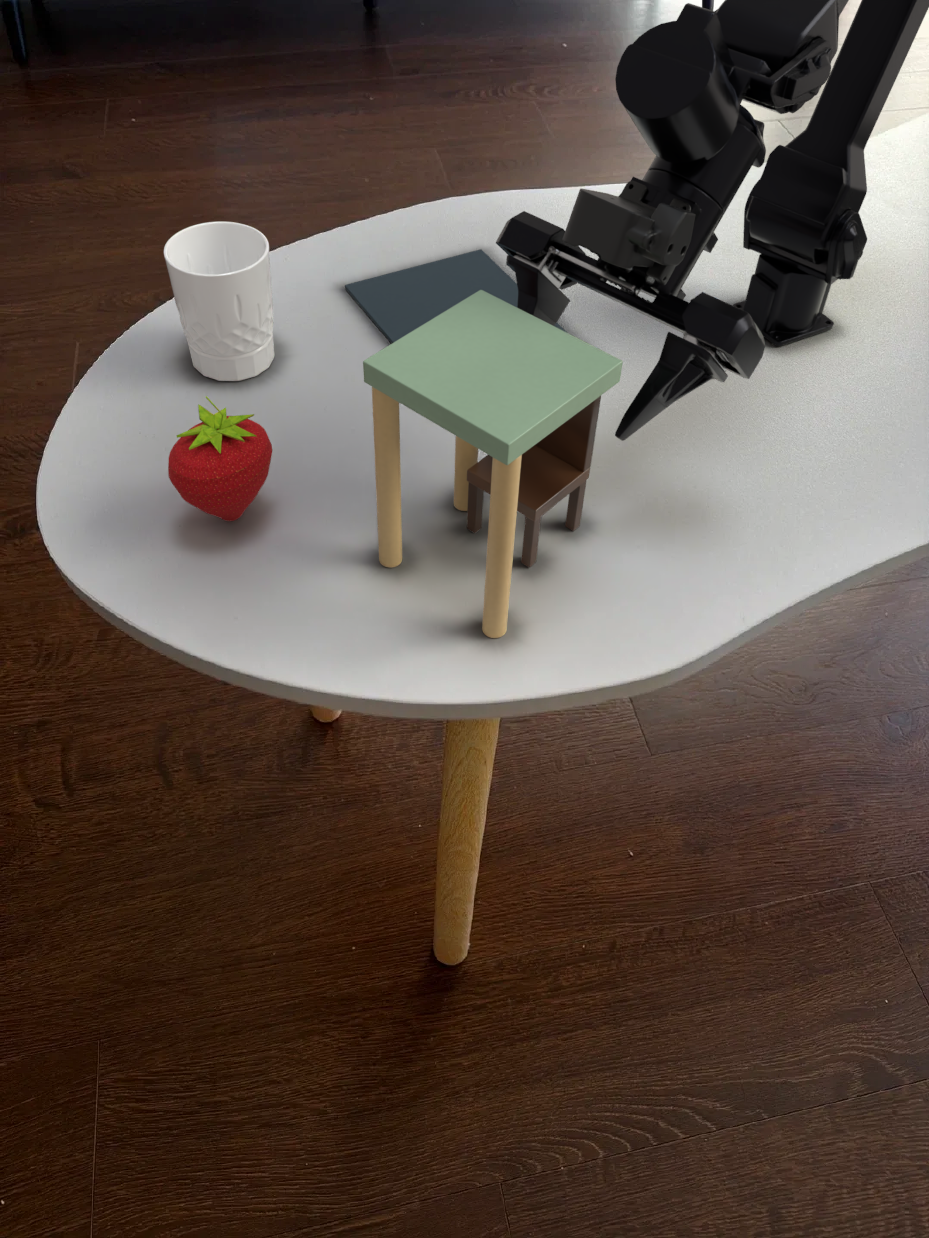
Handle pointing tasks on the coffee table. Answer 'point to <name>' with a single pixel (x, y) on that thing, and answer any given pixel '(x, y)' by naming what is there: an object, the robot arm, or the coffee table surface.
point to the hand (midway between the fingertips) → (563, 408)
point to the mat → (430, 291)
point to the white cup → (223, 297)
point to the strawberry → (220, 463)
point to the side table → (480, 413)
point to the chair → (543, 478)
